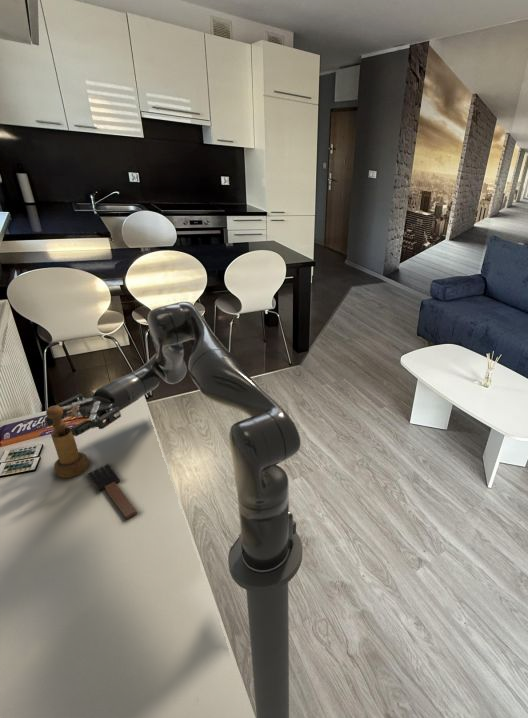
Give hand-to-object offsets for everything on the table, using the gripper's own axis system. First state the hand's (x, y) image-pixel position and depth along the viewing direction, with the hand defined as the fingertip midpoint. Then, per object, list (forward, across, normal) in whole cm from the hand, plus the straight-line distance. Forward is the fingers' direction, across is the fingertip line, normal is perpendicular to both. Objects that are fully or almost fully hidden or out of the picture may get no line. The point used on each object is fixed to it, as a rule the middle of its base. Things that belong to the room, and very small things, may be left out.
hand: (59, 427), depth 91 cm
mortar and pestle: (0, 0, +13) cm, 13 cm away
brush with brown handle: (+2, +16, +12) cm, 20 cm away
